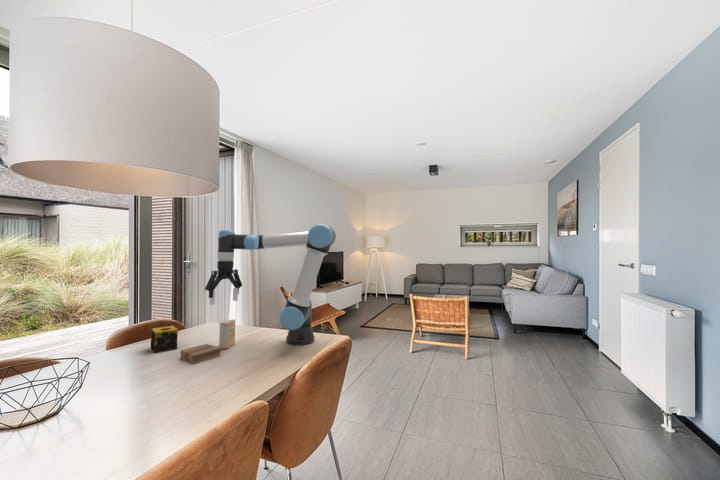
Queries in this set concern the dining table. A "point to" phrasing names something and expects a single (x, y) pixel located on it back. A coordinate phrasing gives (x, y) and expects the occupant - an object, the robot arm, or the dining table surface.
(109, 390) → the dining table surface
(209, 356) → the walnut block
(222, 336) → the supplement box
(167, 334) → the black and yellow box
